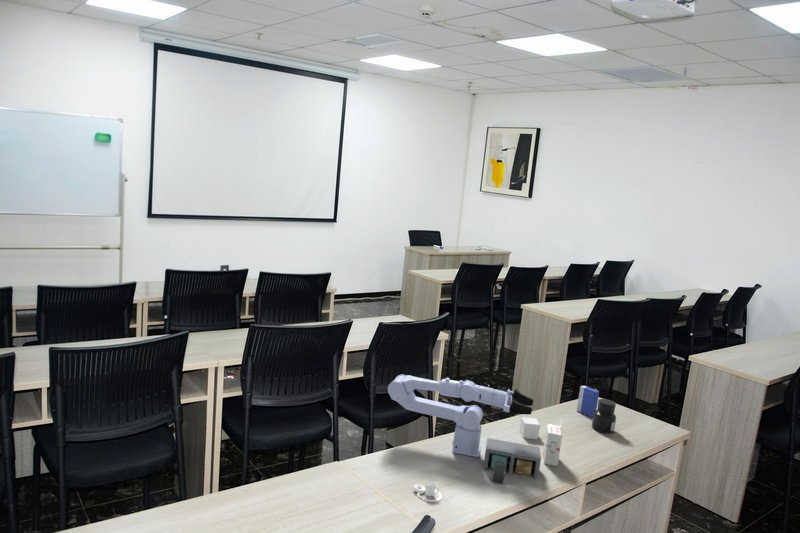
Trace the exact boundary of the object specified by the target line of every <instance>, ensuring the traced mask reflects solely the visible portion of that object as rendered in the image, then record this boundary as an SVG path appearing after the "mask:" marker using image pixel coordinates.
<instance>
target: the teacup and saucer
mask: <svg viewBox="0 0 800 533" xmlns="http://www.w3.org/2000/svg"><path fill="white" fill-rule="evenodd" d="M420 489H421V490H420ZM413 490H414V492H415V493H416V492H417V493H419V494H420V495H422V494H424V493H425V495H426V496H427V497H430V498H432V497H433V496H436V495H437V496H438V495H439V498H438V497H437V498H435V499H436V500H435V499H428V500H425V502H429V503H436V502H439V501H441V500H442V499H443V494H442V492H441V491H439V490H440V489H439V487H438V486H437V483H436V482H435V481H433V480H427V481H426V482H425V486H424V485H422V484H415V485H413ZM435 491H436V492H437V493H438V494H437V493H436V492H435ZM431 496H432V497H431ZM422 501H424V499H423V500H422Z"/></svg>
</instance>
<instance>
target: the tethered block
mask: <svg viewBox="0 0 800 533" xmlns="http://www.w3.org/2000/svg"><path fill="white" fill-rule="evenodd" d="M507 464H508V463H507V456H504V455H499V454H493V453H492V459H491V460H490V468H492V469H493V472H492V478H491V481H492V482H493V483H495V484H498V485H499V484H500V485H501V484H503V483H504V478H505V472H506V469H507Z"/></svg>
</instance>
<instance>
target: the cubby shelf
mask: <svg viewBox="0 0 800 533" xmlns="http://www.w3.org/2000/svg"><path fill="white" fill-rule="evenodd" d="M484 452H485V453H484V461H483V469H484V470H488V467H489V466H488V465H489V460H490V461H491V459H492V453H493V454H499V455H504V456H507V464H508V474H509V475H513V470H514V465H515V464H516V458H520V459H526V460H531V461H532V468H531V469H533V478H534V479H536V480H538V479H539V475H540V474H539V473H540V467H541V460H542V456H541V448H540V446H535V445H529V444H524V443H516V442H513V441H512V442H511V441H508V440H507V441H506V440H500V439H495V438H489V437H487V439H486V445H485V451H484Z"/></svg>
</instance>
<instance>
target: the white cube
mask: <svg viewBox="0 0 800 533" xmlns="http://www.w3.org/2000/svg"><path fill="white" fill-rule="evenodd" d="M540 428H541V424H540V422H539V420H538V419H537V418H534V417H525V416H524V417H522V416H521V418H520V424H519V434H520V436H521V437H522V438H523V439H533V440H538V439H539V436H540V435H539V434H540Z"/></svg>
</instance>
